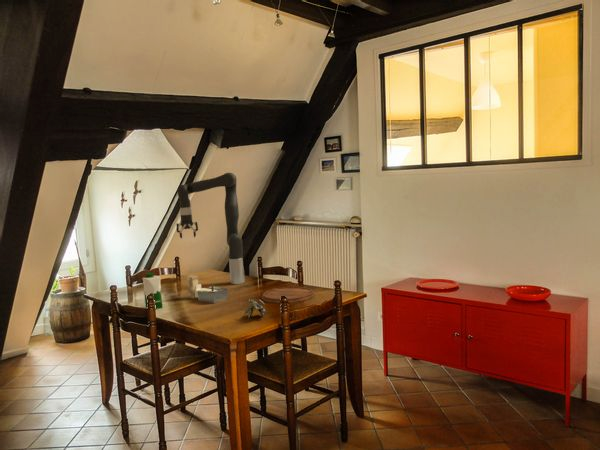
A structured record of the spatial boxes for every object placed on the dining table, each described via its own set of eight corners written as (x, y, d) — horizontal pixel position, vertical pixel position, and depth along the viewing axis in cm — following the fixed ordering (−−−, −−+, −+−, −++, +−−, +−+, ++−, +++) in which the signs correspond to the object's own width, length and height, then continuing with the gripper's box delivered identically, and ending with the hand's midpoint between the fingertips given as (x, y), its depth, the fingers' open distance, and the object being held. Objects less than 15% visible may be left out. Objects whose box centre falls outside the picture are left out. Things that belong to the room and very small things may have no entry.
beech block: (188, 297, 303) (186, 276, 302) (194, 295, 307) (192, 275, 305) (193, 298, 301) (192, 277, 299) (199, 296, 304) (197, 275, 303)
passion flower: (262, 326, 256) (271, 310, 250) (244, 326, 250) (252, 310, 244) (255, 310, 264) (263, 294, 258) (237, 310, 258) (245, 294, 252)
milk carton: (157, 304, 290) (154, 271, 287) (164, 307, 283) (161, 273, 281) (143, 308, 284) (140, 274, 282) (150, 311, 277) (147, 276, 275)
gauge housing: (198, 301, 293) (197, 290, 293) (212, 296, 303) (211, 286, 303) (214, 303, 286) (213, 292, 285) (228, 298, 296) (227, 288, 295)
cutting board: (304, 305, 273) (304, 300, 272) (252, 302, 284) (252, 298, 284) (321, 291, 303) (321, 287, 302) (274, 289, 314) (274, 285, 313)
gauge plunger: (194, 296, 299) (193, 283, 298) (202, 294, 304) (201, 280, 303) (210, 299, 291) (209, 285, 290) (218, 296, 297) (217, 282, 296)
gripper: (175, 215, 327) (177, 239, 329) (197, 213, 331) (199, 237, 333) (175, 214, 334) (177, 238, 336) (196, 212, 338) (198, 236, 340)
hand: (188, 237), depth 334 cm, fingers open, 8 cm apart
